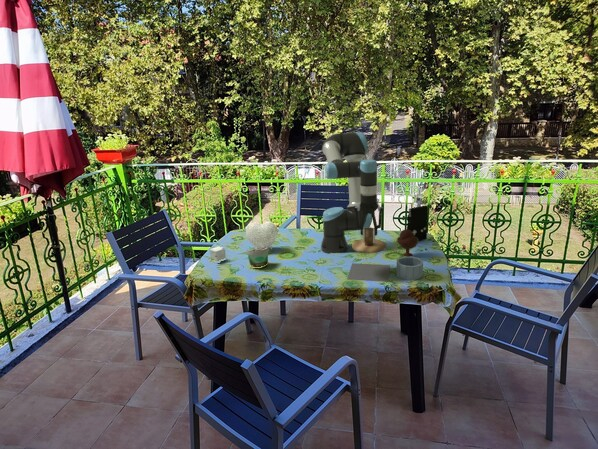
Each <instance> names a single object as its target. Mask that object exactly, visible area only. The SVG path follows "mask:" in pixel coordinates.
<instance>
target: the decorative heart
mask: <svg viewBox="0 0 598 449" xmlns="http://www.w3.org/2000/svg"><path fill="white" fill-rule="evenodd" d="M278 232H279V231H278V226H276V224H275V223H273V222H271V221H267V222H263V223H259V222H255V221H254V222H250V223H249V224H248V225H247V226H246V228H245V235H246V238H247V239H248V242H249V243H250V244H252V246H254V247H253V250H254V249H257V248H264V247H267V246H268V247H269V248H270V250H271V249H272V250H273V245H274V243H275V241H276V239H277V237H278Z"/></svg>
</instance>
